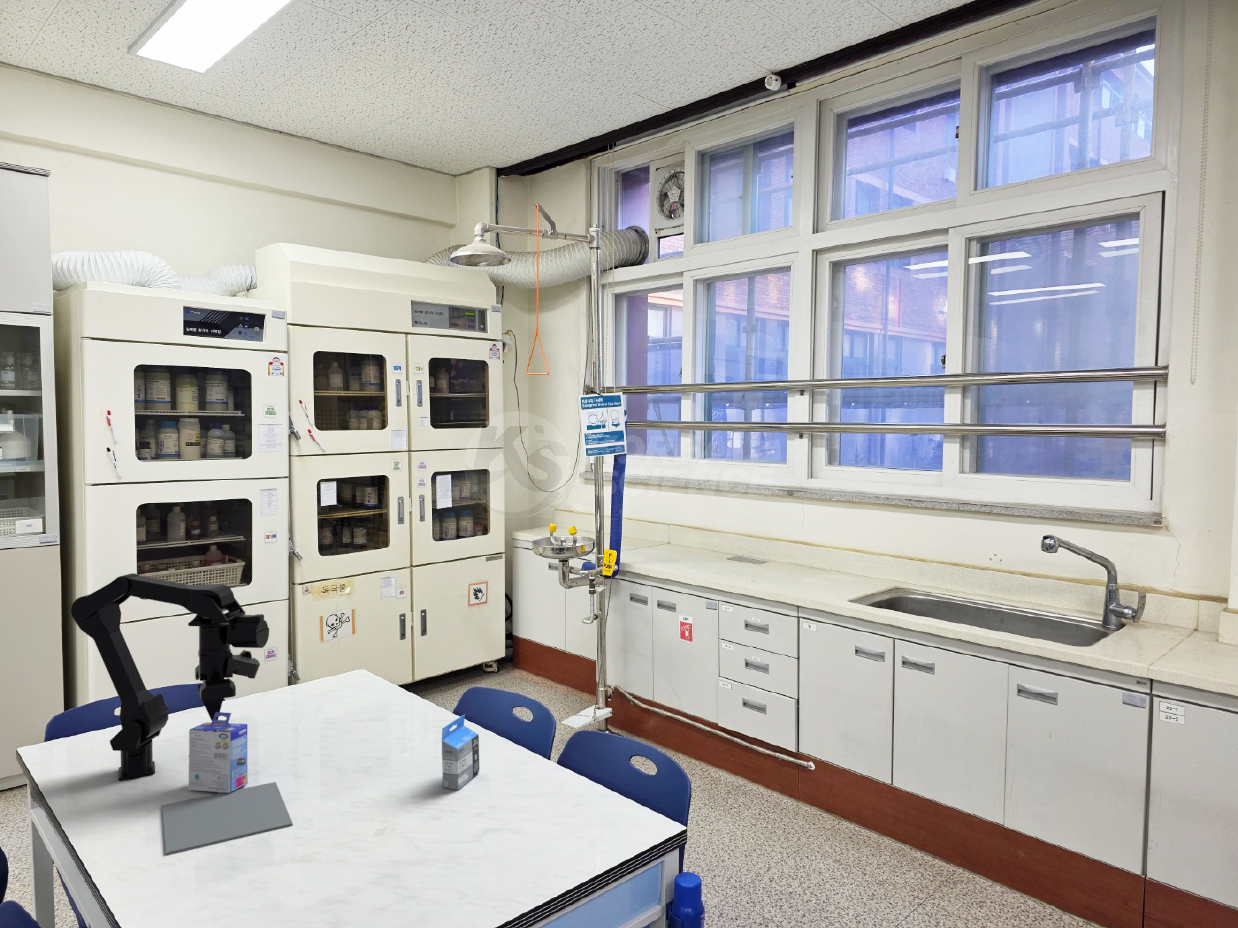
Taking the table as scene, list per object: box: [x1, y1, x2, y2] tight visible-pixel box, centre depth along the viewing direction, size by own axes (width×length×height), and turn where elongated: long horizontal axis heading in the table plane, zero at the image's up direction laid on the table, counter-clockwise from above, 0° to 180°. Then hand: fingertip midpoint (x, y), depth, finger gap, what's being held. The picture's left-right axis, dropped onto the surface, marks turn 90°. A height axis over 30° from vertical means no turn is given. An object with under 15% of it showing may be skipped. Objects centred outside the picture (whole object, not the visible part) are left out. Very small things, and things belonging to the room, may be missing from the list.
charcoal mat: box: [161, 781, 293, 856], centre depth 147 cm, size 20×20×1 cm
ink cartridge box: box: [188, 711, 249, 793], centre depth 158 cm, size 10×6×14 cm, turn 79°
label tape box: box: [441, 713, 480, 791], centre depth 163 cm, size 9×4×12 cm, turn 161°
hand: (214, 720), depth 165 cm, fingers closed
